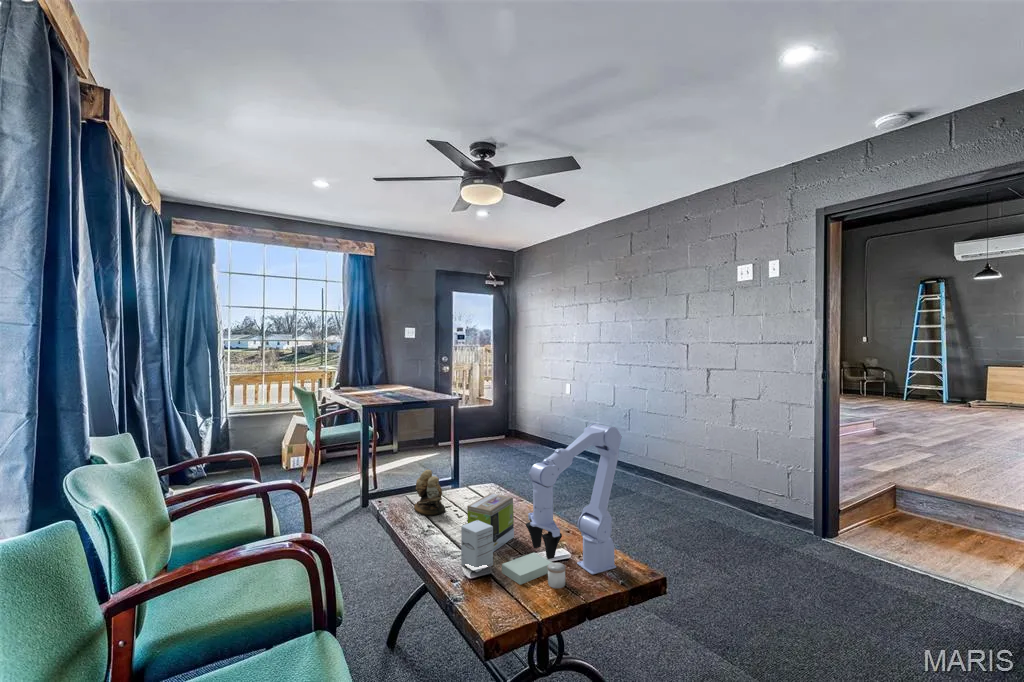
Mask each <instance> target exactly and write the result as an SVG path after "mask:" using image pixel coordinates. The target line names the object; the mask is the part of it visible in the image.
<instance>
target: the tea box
mask: <svg viewBox="0 0 1024 682" xmlns="http://www.w3.org/2000/svg"><path fill="white" fill-rule="evenodd" d="M466 507H467V509H466V511H467V524H468V523H471V522H473V521H476V520H479V521H481V522H484V523H486V524H489V525H491V526H493V553H494V552H496V551H497V550H498V549H499V548H501V547H502V546H504V545H505V544H506V543H508V542H510V540H512V539H513V538H515V529H514V528H515V526H514V521H515V520H514V497H513V496H506V495H500V494H496V493H495V494H494V493H489V494H487V495H485V496H483V497H481V498H479V499H478V500H476V501H474V502H472V503H470V504H468V505H467V506H466Z"/></svg>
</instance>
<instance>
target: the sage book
mask: <svg viewBox="0 0 1024 682" xmlns="http://www.w3.org/2000/svg"><path fill="white" fill-rule="evenodd" d="M550 563H554V562H553V561H552V560H550V559H547V557H543V556H542V555H540V554H538V553H536V552H532V553H529V554H526V555H522V556H520V557H518V558H515V559H512V560H510V561H507V562H504V563H501V574H503V575H505V576H506V577H508V578H509V579H511V580H512V581H514V582H515V583H517V584H518V585H523V584H525V583H528V582H530V581H532V580H535V579H537V578H540V577H543V576H545V575H548V565H549V564H550Z"/></svg>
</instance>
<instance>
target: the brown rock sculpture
mask: <svg viewBox="0 0 1024 682" xmlns="http://www.w3.org/2000/svg"><path fill="white" fill-rule="evenodd" d="M439 480H440V479H439V477H438V476H435V475H433V470H431V469H426V470H424V471H423V472H422V473H421V474H420V476H419V477H418V478H417V479H416V483H415V490H416V492H417V494H418V497H420V499H419V500H417V502H416V503H415V504H414V506H413V510H414V511H415V513H417V514H419V515H420V514H421V516H424V515H425V516H426V517H434V516H438V515H443V514H444V513H445V511H446V507H445V505H444V504H443V503H442V501H443V500H442V499H443V498H442V495H443V489H442V486H441V485H440V481H439ZM442 513H443V514H442Z"/></svg>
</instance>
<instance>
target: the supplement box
mask: <svg viewBox="0 0 1024 682" xmlns="http://www.w3.org/2000/svg"><path fill="white" fill-rule="evenodd" d="M460 527H461V535H460V536H461V538H460V539H461V541H460V542H461V543H460V544H461V545H460V546H461V547H460V548H461V550H460V551H461V553H460V558H461V563H460V564H461V566H463V565H465V564H469V565H471V566H474V567H479V566H482V565H487V566H490V567H492V566H493V565H494V557H493V556H494V552H493V526H491V525H489V524H486V523H484V522H481V521H479V520H476V521H473V522H471V523H468V522H467V523H466V524H463V525H461V526H460ZM463 567H464V566H463Z"/></svg>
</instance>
